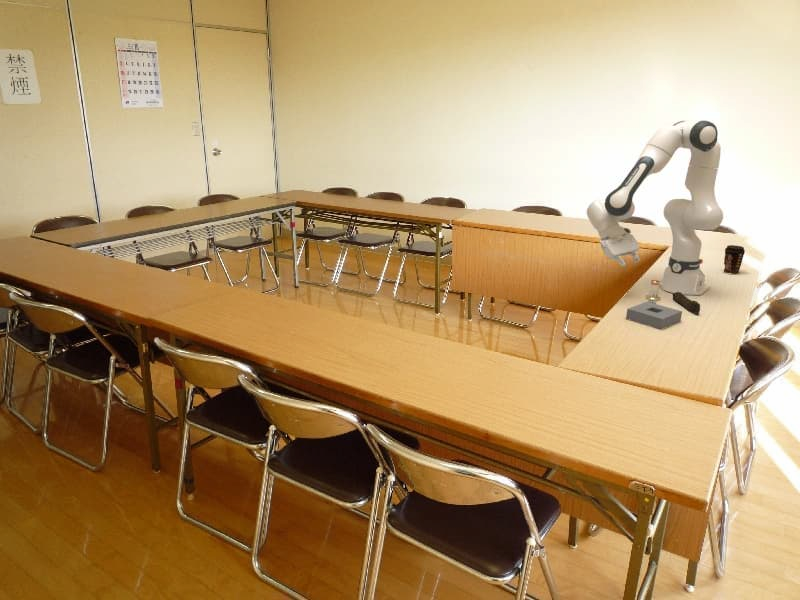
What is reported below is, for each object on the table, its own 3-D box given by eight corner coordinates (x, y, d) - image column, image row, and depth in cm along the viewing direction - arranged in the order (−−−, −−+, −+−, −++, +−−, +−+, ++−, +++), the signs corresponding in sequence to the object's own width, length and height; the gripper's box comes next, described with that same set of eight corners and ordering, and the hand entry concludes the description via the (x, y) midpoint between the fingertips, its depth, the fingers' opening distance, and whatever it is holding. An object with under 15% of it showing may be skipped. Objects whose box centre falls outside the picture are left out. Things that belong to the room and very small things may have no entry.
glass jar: (648, 304, 237) (652, 278, 234) (661, 308, 233) (665, 281, 230) (641, 307, 234) (645, 280, 231) (654, 310, 230) (658, 284, 227)
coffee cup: (725, 269, 290) (730, 243, 286) (743, 273, 284) (748, 247, 280) (717, 272, 284) (722, 246, 280) (735, 276, 278) (741, 249, 274)
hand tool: (671, 300, 243) (673, 289, 242) (681, 300, 243) (683, 290, 242) (690, 316, 225) (692, 304, 224) (701, 316, 225) (703, 305, 224)
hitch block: (645, 311, 229) (647, 301, 228) (680, 321, 219) (682, 311, 218) (625, 318, 221) (627, 308, 220) (661, 329, 211) (662, 319, 210)
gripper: (603, 234, 233) (622, 263, 229) (631, 228, 245) (650, 255, 241) (592, 243, 237) (610, 271, 233) (620, 237, 249) (638, 264, 245)
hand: (631, 263), depth 237 cm, fingers open, 8 cm apart
